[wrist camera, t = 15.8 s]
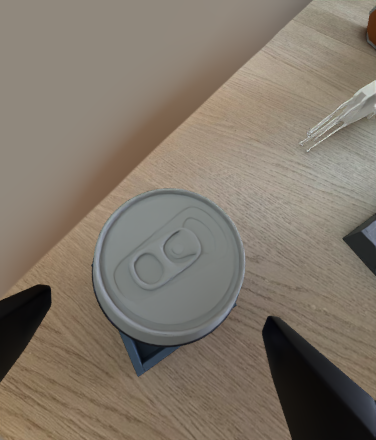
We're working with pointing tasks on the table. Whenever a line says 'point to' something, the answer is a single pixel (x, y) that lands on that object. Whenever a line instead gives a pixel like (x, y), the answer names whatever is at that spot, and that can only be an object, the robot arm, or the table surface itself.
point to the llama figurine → (349, 112)
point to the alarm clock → (372, 28)
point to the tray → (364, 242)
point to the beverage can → (168, 267)
